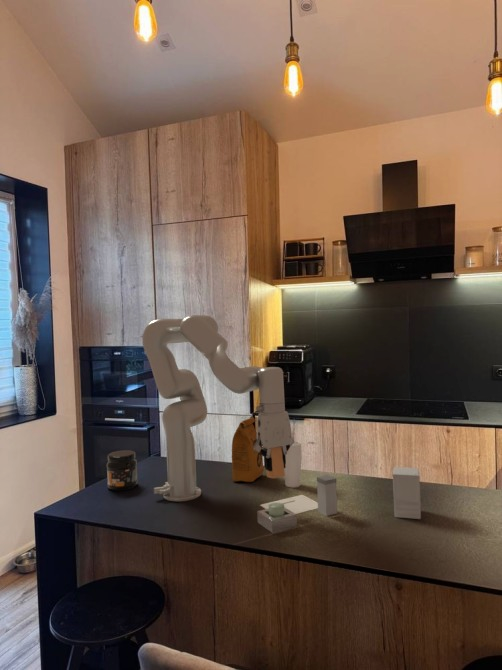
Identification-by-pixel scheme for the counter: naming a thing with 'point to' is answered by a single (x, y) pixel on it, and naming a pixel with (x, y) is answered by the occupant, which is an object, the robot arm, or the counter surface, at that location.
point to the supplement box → (406, 492)
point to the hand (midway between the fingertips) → (275, 468)
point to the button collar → (277, 520)
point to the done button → (276, 509)
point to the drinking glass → (293, 465)
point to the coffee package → (246, 453)
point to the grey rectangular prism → (327, 495)
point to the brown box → (276, 463)
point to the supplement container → (122, 470)
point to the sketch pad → (296, 504)
